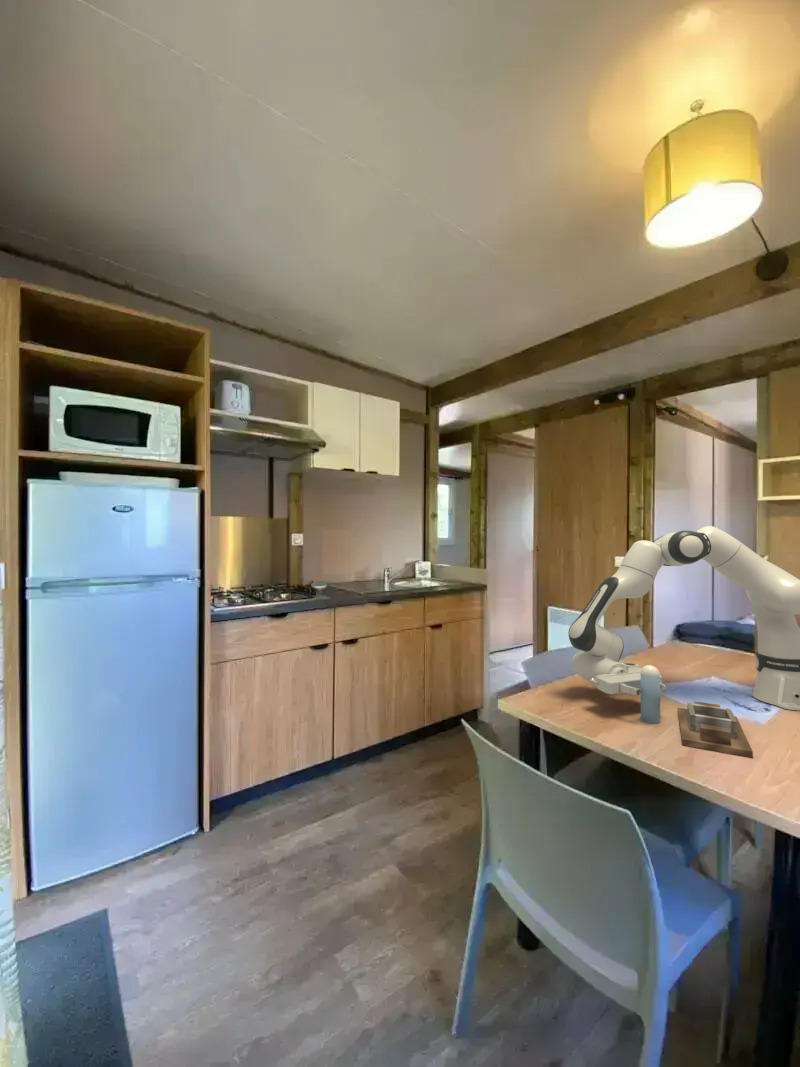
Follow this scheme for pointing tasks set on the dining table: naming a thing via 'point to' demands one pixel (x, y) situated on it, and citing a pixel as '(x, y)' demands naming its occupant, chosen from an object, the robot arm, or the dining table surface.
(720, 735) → the cradle
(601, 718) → the dining table surface
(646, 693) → the dome-topped blue cylinder
